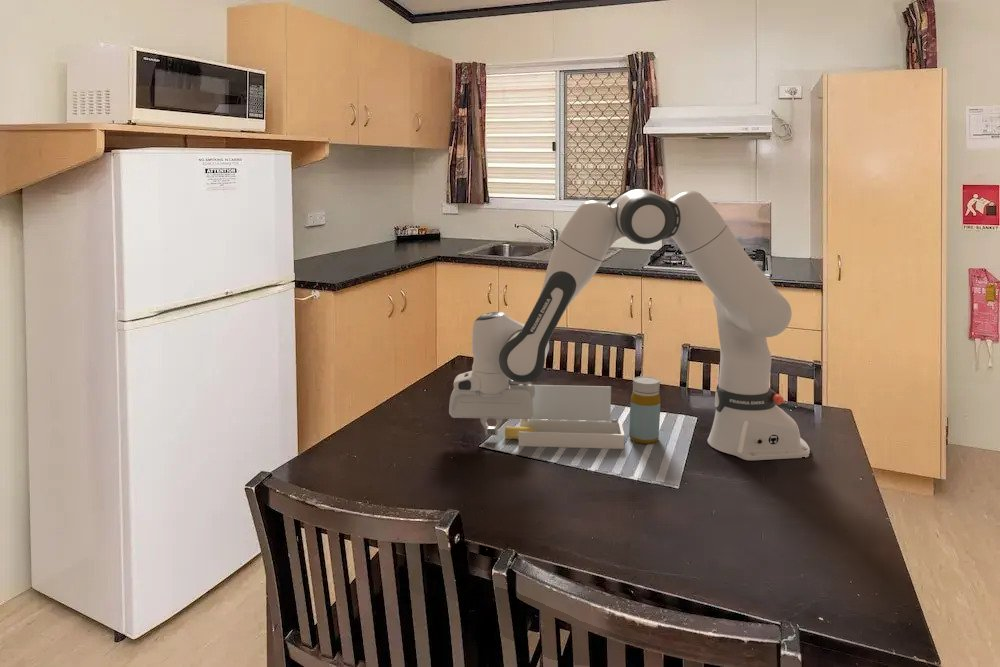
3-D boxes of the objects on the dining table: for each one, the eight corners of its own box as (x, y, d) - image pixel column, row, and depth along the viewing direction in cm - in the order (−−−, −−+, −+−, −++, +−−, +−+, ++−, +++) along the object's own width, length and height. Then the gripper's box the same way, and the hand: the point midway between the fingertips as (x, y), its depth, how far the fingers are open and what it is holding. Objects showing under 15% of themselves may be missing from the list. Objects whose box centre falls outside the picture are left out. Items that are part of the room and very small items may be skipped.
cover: (610, 421, 171) (609, 420, 173) (611, 386, 171) (610, 386, 172) (528, 419, 173) (528, 418, 174) (529, 385, 172) (529, 384, 174)
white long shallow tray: (620, 434, 172) (621, 419, 172) (624, 448, 164) (624, 432, 163) (520, 432, 174) (520, 416, 174) (518, 446, 166) (518, 429, 165)
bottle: (658, 445, 166) (661, 385, 162) (628, 443, 167) (631, 383, 164) (658, 434, 172) (661, 376, 169) (629, 432, 174) (631, 375, 170)
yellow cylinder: (533, 442, 170) (534, 433, 172) (533, 433, 168) (534, 424, 171) (505, 441, 170) (506, 432, 173) (504, 432, 169) (505, 423, 171)
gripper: (535, 376, 168) (535, 430, 172) (451, 375, 170) (452, 428, 173) (534, 384, 162) (534, 440, 166) (447, 383, 164) (448, 438, 167)
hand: (491, 434), depth 170 cm, fingers closed
